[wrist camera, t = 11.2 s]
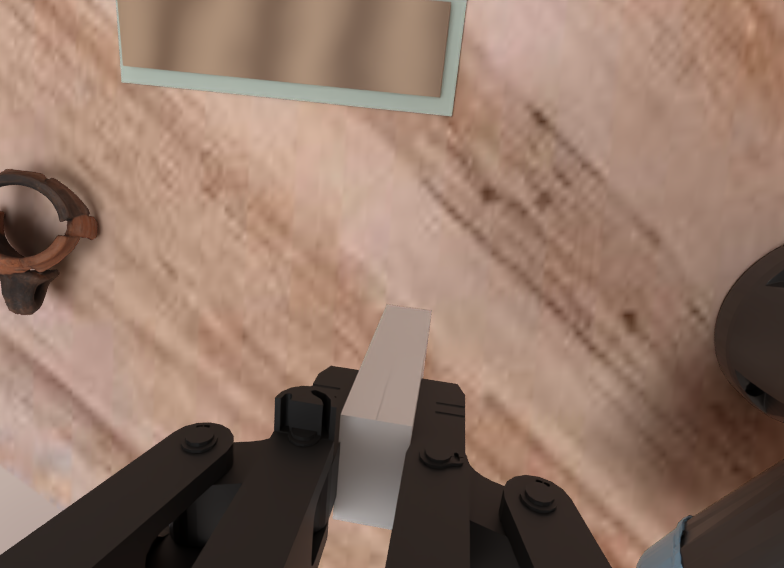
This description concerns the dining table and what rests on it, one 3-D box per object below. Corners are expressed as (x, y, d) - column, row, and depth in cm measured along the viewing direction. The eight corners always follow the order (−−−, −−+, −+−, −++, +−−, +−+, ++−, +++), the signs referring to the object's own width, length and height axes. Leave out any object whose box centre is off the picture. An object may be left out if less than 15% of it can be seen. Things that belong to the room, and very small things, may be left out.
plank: (451, 5, 35) (450, 2, 33) (440, 97, 37) (439, 97, 36) (125, -22, 37) (114, -26, 36) (132, 66, 39) (122, 65, 38)
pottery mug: (-15, 179, 45) (-65, 161, 37) (105, 180, 48) (81, 164, 40) (-4, 313, 45) (-51, 323, 38) (113, 306, 48) (92, 314, 41)
